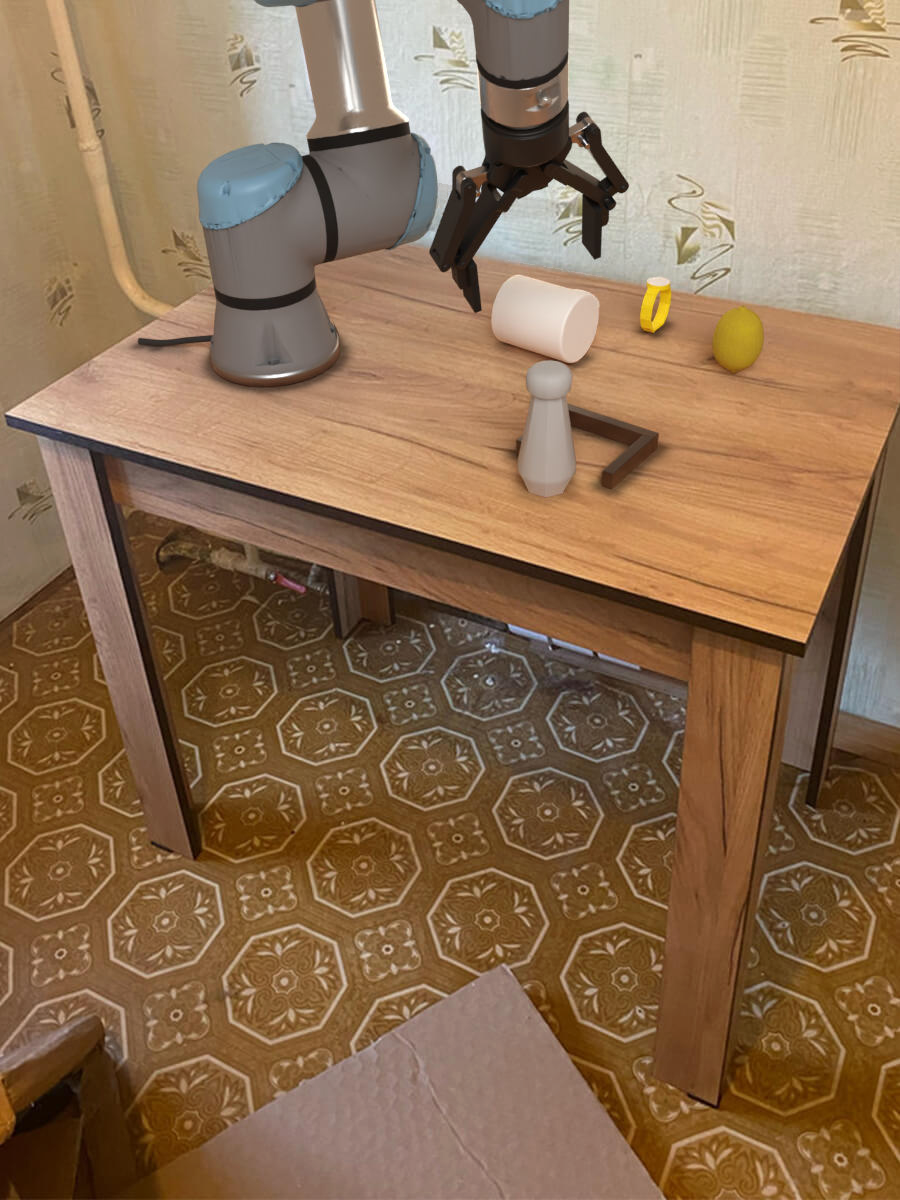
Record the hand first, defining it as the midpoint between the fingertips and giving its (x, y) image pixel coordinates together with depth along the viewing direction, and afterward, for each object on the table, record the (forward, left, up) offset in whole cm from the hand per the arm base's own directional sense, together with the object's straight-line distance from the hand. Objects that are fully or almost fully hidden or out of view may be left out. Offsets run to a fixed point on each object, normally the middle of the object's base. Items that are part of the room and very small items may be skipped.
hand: (532, 276), depth 112 cm
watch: (+2, +23, -15) cm, 28 cm away
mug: (-6, +13, -15) cm, 21 cm away
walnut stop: (+10, -5, -15) cm, 18 cm away
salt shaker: (+10, -13, -15) cm, 22 cm away
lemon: (+15, +18, -15) cm, 28 cm away
